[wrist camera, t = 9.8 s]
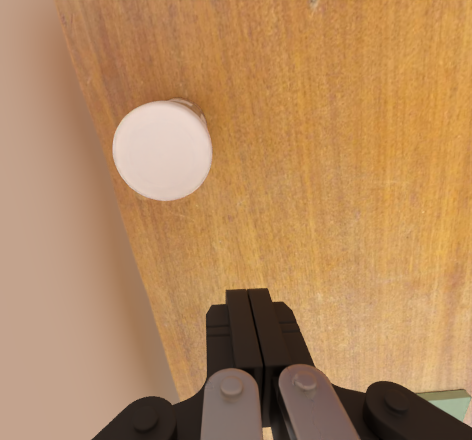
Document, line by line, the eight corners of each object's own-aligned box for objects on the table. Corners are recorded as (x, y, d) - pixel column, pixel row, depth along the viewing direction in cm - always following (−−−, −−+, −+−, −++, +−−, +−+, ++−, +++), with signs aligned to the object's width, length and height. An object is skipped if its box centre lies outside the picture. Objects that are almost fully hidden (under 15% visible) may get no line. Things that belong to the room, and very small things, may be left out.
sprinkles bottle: (169, 85, 26) (140, 79, 13) (217, 118, 27) (232, 139, 15) (142, 135, 27) (92, 171, 15) (190, 164, 28) (181, 220, 16)
